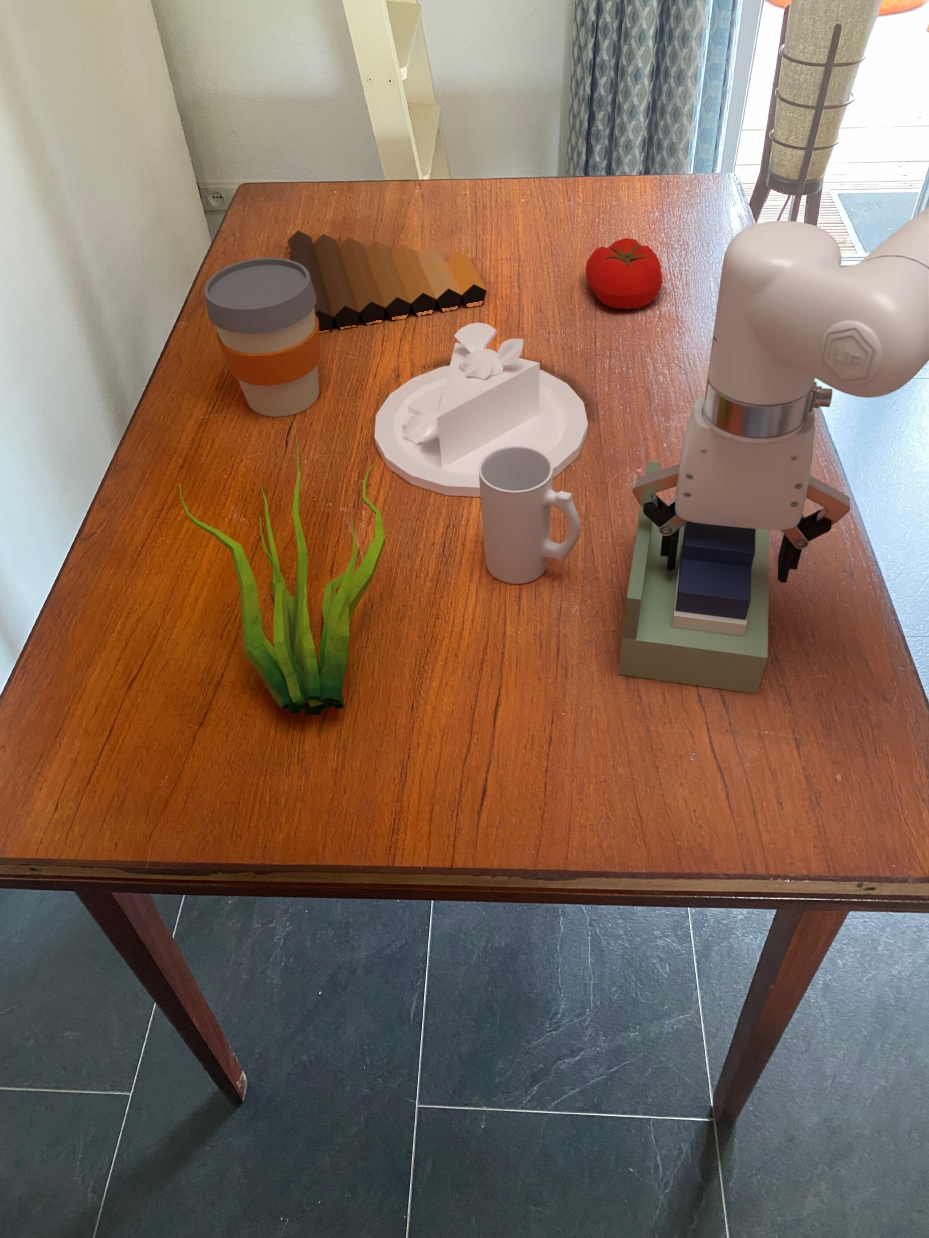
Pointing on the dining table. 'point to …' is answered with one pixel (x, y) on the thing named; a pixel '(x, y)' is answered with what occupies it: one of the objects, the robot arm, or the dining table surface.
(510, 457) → the mug
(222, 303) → the reusable coffee cup
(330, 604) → the decorative plant
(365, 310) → the pan flute
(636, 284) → the tomato
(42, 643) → the dining table surface
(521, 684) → the dining table surface
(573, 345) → the dining table surface
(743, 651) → the sage stepped base
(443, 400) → the dish
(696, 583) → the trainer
